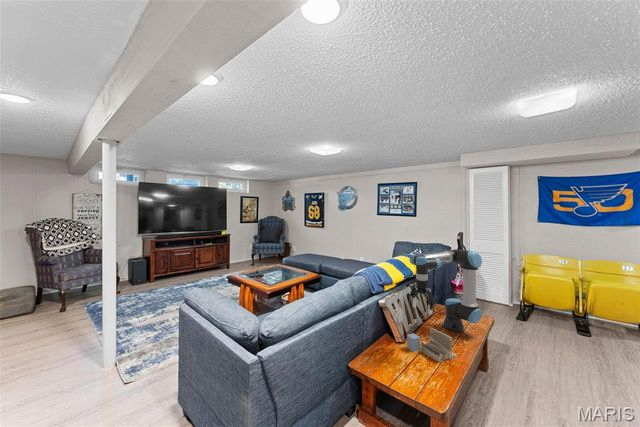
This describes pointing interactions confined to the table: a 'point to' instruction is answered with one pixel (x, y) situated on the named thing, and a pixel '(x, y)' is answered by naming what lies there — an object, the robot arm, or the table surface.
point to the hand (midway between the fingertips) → (422, 310)
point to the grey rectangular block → (413, 342)
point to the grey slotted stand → (439, 346)
